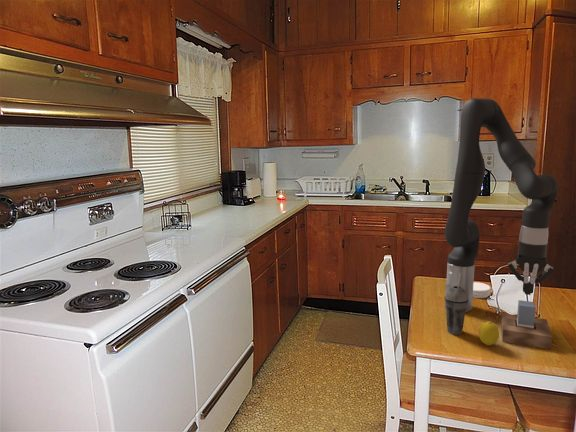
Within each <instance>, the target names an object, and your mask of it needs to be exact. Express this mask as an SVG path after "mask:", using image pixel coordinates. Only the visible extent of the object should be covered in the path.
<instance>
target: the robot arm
mask: <svg viewBox="0 0 576 432" xmlns="http://www.w3.org/2000/svg"><path fill="white" fill-rule="evenodd" d="M459 125H460V129H459V147H458V153H457V162H456V168H455V174H454V183H453V190H452V194H451V203H450V207H449V212H448V216H447V219H446V222H445V227H444V238H445V241H446V242H447V244H448V245H449V246H450V247H453V249H452V250H451V252H449V253H448V254H447V263H446V265H447V266H446V267H447V269H446V283H445V294H446V291H447V290H448V289H449V288H451V287H453V286H458V281H459V274H460V273H461V279H460V286H459V287H461V288H463V289H464V290H465V291H466V293H467V295H468V304H467V307H466V312H468V313H469V312H470V311H472V310H473V300H474V299H473V298H474V297H473V283H474V282H475V281H474V280H475V279H474V278H475V265H476V263H475V262H476V259H477V257H478V256H479V255H478V254H479V247H480V236H481V235H480V233H481V231H480V228H479V225H478V224H477V222H475V221H474V220H473V219H470V218H469V217H470V213H471V209H472V207H473V205H474V203H475V202H476V200H477V198H478V196H479V194H480V193H481V190H482V188H483V184H484V178H485V173H486V165H485V164H486V163H485V159H484V157H483V156H484V155H483V153H482V150H481V147H480V135H481V130H482V128H485V129H487V130H488V131H489V132H490V133H491V134H492V135H493V137H494V139H495V141H496V145H497V150H498V151H497V152H498V154H499V157H500V158H501V160H502V162H503V163H504V165H505V166H506V167H507V168H508V170H509V171H510V172H511V173H512V176H513V179H514V181H515V183H516V186H517V189H518V191H519V192H520V194H521V195H522V196H523V197H525V198H526V199H529V200H531V203H530V204H529V205H527V206H526V207H524V209H523V211H522V217H521V225H520V231H519V237H518V249H517V256H516V257H515V259H514V260H513V261H509V262H507V267H508V269H509V270H510V271H511V273H512V274H513V275H514V276H515V278H516V279H517V280H518V281H519V282H522V292H523V293H524V295H528V296H531V295H532V294H533V293H534V289H535V284H541V283H543V282H544V281H545V280H547V278H548V277H549V276H551V275H552V274H554V273H555V269H554V267H553V266H551V265H549V264H548V260H547V252H548V251H547V250H548V243H549V241H548V240H549V222H550V215H551V212H552V209H553V207H554V204H555V202H556V199H557V196H558V192H559V185H558V181H557V178H555V177H554V176H553V175H550V174H538V175H537V174H536V172H535V171H534V169H535V168H536V165H537V162H536V161H535V159H534V157H532V155H531V154H530V152H529V151H528V149H526V148H525V146H524V145H523V144H522V143H521V141H520V140H519V139H518V136H517V135H516V134H515V132H514V130H513V128H512V127H511V124H510V123H509V121H508V119H507V118H506V115H505V114H504V112H503V110H502V108H501V106H500V105H499V103H498V102H497V101H495V100H494V99H492V98H479V97H478V98H476V97H474V98H470V99H468V100H466V102H465V103H464V104H463V106H462V109H461V113H460V124H459ZM517 265H518V267H519V269H520V270H521V271H522V273H523V275H522V274H521V273H520V271H519V270H518V269H517V268H518V267H517ZM542 270H543V271H542ZM541 271H542V273H540V272H541ZM538 273H540V274H539V275H538V276H537V274H538ZM445 294H444V295H445ZM444 309H446V304H445V303H444ZM466 312H465V313H466Z"/></svg>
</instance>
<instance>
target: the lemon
mask: <svg viewBox="0 0 576 432" xmlns="http://www.w3.org/2000/svg"><path fill="white" fill-rule="evenodd" d="M478 331H479V332H478V336H479V339H480V341H481V342H482V343H483V344H485V345H486V346H487V347H490V346H493V345H495V344H497V342H498V340H499V339H500V331H499V327H498V326H497V325H496V324H495V323H493V322H492V321H490V320H489V321H485V322H483V323H481V324H480V327H479V330H478Z"/></svg>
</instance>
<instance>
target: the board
mask: <svg viewBox="0 0 576 432" xmlns="http://www.w3.org/2000/svg"><path fill="white" fill-rule="evenodd" d="M516 324H517V314H510V313H504V312H502V313H501V322H500V329H501V342H502V343H503V342H504V343H510V344H515V345H520V346H521V345H522V346H528V347H534V348H540V349H547V350H551V349H552V340H553V336H552V333H551V329H550V326H549V322H548V319H547V318H542V317H541V318H540V317H539V318H538V317H535V319H534V329H529V328H522V327H516Z"/></svg>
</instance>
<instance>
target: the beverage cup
mask: <svg viewBox="0 0 576 432" xmlns="http://www.w3.org/2000/svg"><path fill="white" fill-rule="evenodd" d="M460 279H461V273H460V274H459V281H458V286H453V287H451V288H449V289H448V290H447V291H446V290H445V293H446V294H444V305H445V304H446V308H445V313H446V314H445V317H446V329H447V333H448V334H451V335H453V336H454V335H456V336H459V335H461V334H463V329H464V323H465V317H466V307H467V304H468V295H467V293H466V291H465V290H464V289H463V288H461V287H459V286H460Z"/></svg>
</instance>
